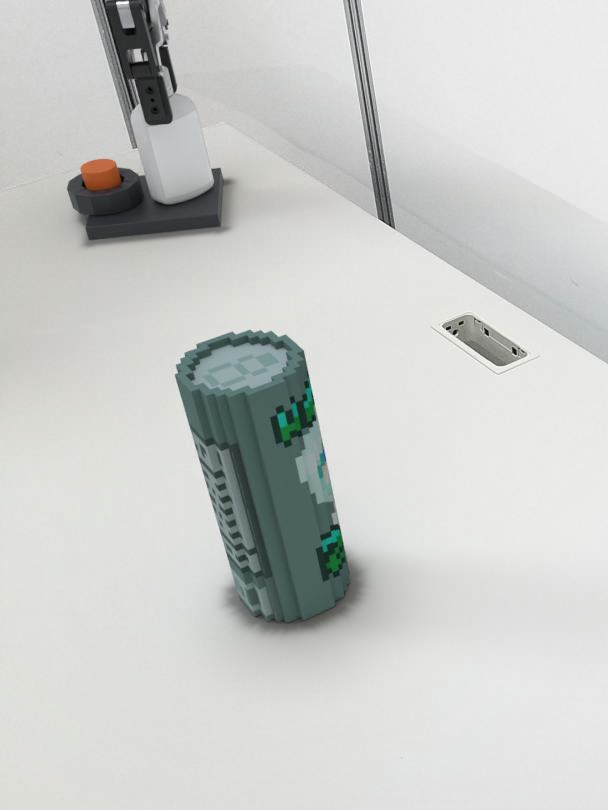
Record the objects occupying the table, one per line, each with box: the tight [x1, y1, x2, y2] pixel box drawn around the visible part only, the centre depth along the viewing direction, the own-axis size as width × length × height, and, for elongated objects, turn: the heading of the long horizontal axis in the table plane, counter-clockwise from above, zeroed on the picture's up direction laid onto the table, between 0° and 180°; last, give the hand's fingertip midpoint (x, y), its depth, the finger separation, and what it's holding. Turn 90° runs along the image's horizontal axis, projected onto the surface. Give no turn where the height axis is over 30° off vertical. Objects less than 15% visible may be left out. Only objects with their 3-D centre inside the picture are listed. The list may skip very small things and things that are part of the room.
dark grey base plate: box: [66, 166, 224, 241], centre depth 109 cm, size 12×10×3 cm
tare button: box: [79, 158, 122, 190], centre depth 107 cm, size 3×3×2 cm
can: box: [174, 329, 351, 624], centre depth 67 cm, size 6×6×15 cm
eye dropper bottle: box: [130, 52, 214, 205], centre depth 105 cm, size 4×6×12 cm
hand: (162, 107), depth 104 cm, fingers open, 6 cm apart
